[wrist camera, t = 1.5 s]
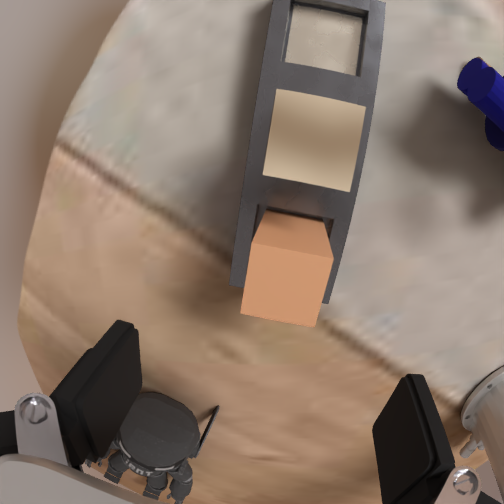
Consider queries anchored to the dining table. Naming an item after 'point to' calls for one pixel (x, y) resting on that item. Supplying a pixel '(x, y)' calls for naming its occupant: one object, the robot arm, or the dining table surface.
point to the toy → (485, 97)
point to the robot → (157, 445)
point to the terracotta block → (287, 269)
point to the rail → (315, 83)
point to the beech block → (313, 139)
